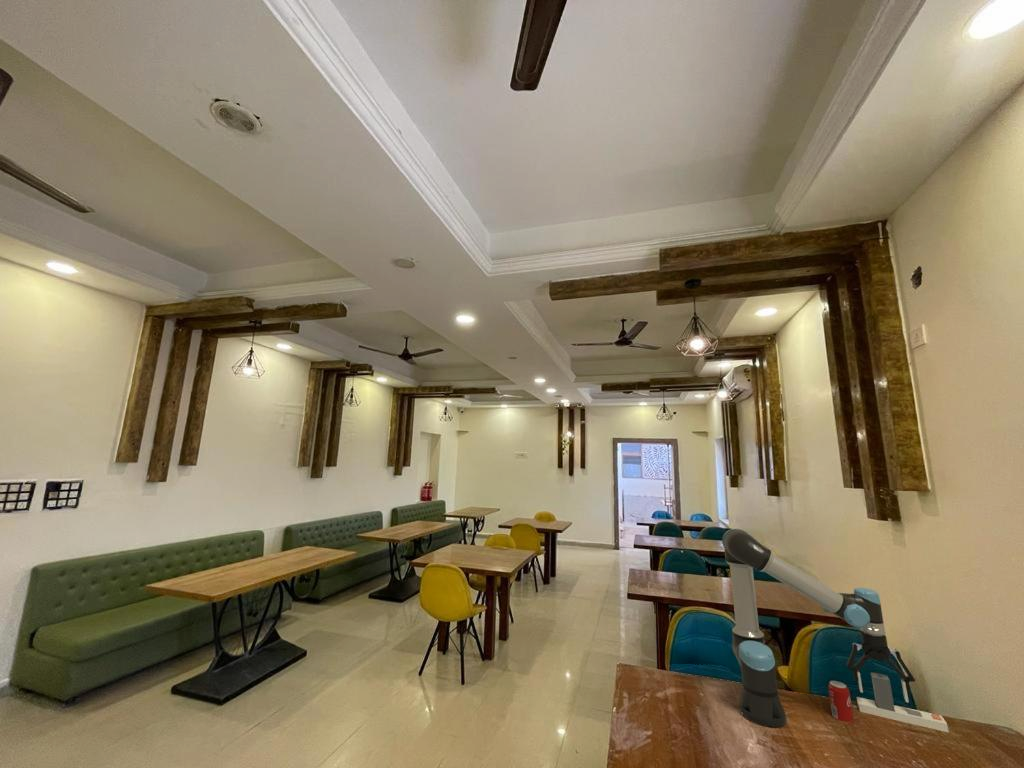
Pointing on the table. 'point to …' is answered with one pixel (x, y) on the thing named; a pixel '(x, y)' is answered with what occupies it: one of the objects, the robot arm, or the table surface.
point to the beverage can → (840, 702)
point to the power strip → (903, 715)
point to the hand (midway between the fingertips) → (883, 695)
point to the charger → (882, 691)
